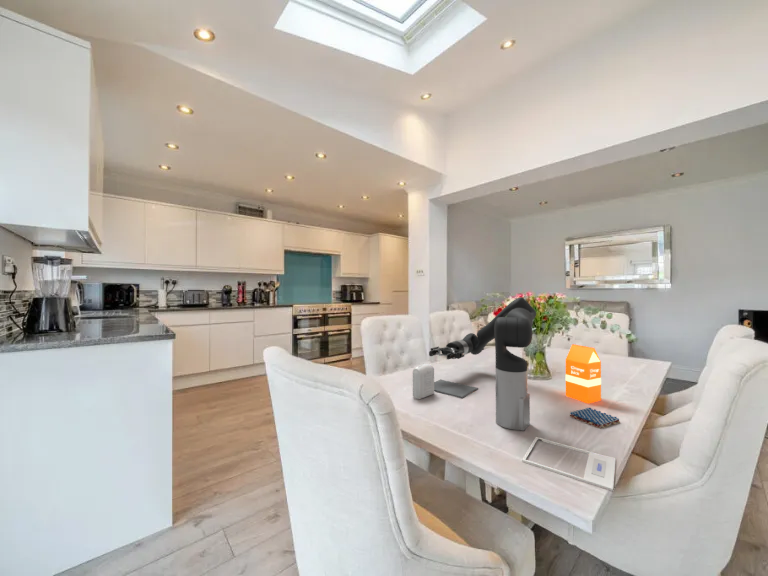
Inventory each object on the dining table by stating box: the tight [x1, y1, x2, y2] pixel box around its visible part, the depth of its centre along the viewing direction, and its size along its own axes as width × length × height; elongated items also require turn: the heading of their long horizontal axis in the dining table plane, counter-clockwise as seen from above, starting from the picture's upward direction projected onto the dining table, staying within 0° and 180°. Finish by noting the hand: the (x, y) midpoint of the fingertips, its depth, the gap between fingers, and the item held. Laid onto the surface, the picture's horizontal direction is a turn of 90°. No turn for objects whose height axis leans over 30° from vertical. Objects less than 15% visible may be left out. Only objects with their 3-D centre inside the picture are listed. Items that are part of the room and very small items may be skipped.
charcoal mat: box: [434, 379, 479, 399], centre depth 130 cm, size 18×14×1 cm
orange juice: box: [565, 344, 602, 404], centre depth 118 cm, size 8×9×20 cm
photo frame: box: [521, 436, 616, 492], centre depth 76 cm, size 15×1×18 cm
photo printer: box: [412, 363, 435, 400], centre depth 123 cm, size 10×4×12 cm, turn 134°
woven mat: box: [569, 407, 621, 430], centre depth 100 cm, size 10×11×2 cm
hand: (438, 355), depth 131 cm, fingers open, 8 cm apart
